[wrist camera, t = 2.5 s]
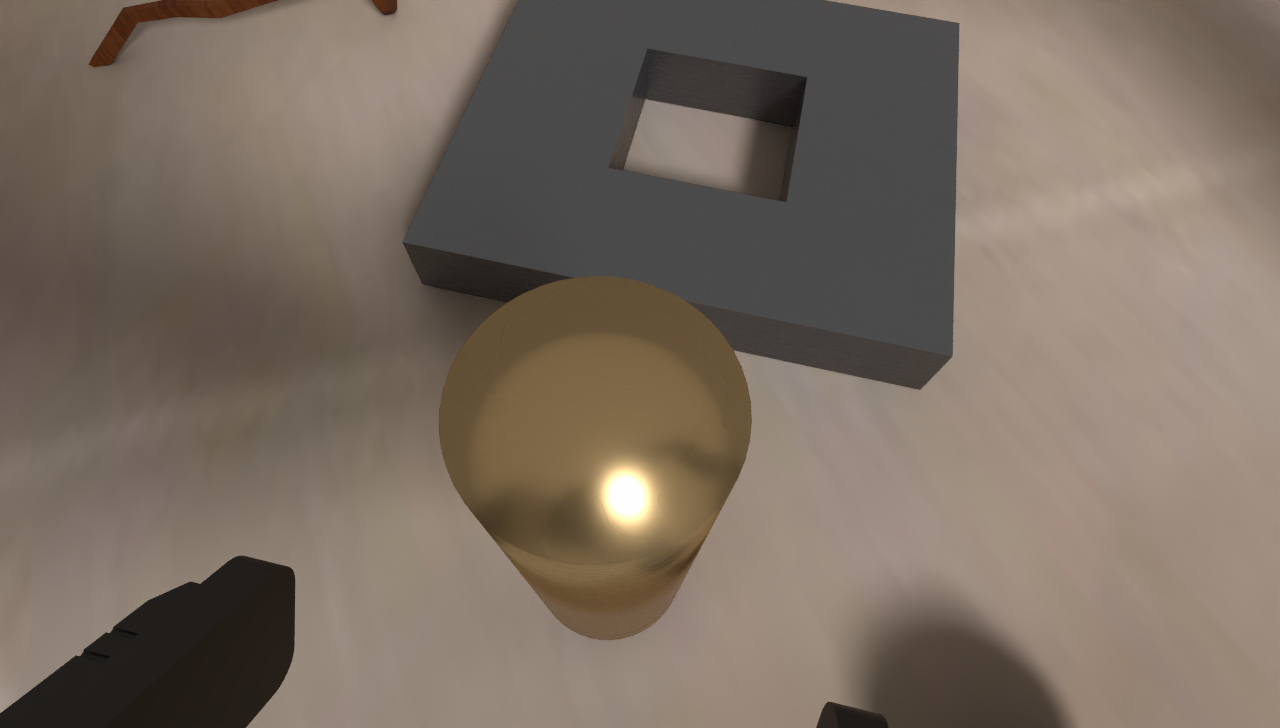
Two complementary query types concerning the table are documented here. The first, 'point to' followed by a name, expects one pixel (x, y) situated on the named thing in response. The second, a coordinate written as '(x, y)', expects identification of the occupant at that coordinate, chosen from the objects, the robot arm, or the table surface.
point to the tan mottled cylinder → (597, 443)
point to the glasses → (180, 3)
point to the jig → (708, 217)
